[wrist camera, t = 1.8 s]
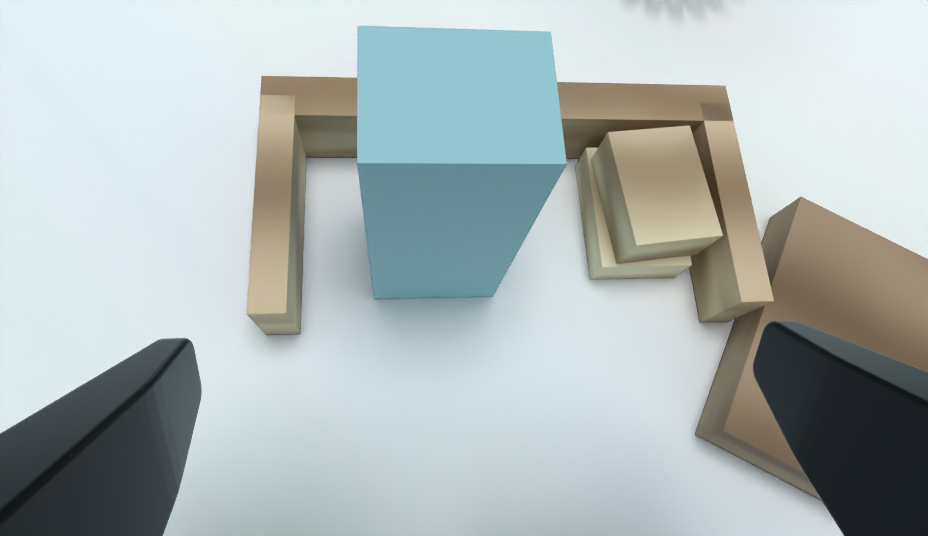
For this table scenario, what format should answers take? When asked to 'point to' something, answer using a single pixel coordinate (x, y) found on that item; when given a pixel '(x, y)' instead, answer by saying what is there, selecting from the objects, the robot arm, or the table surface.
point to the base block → (816, 321)
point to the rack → (584, 126)
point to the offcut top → (654, 194)
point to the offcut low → (599, 239)
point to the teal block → (453, 154)
